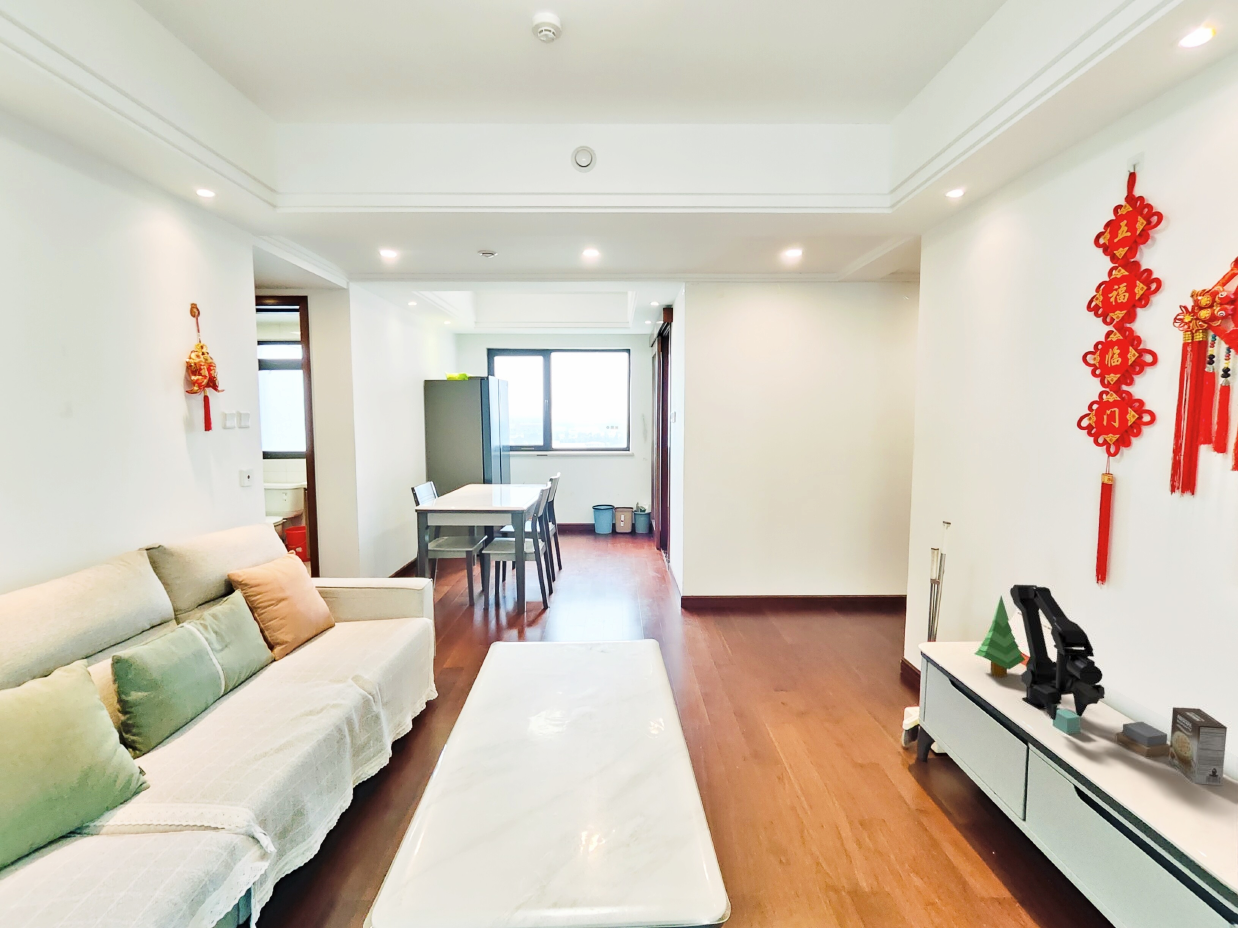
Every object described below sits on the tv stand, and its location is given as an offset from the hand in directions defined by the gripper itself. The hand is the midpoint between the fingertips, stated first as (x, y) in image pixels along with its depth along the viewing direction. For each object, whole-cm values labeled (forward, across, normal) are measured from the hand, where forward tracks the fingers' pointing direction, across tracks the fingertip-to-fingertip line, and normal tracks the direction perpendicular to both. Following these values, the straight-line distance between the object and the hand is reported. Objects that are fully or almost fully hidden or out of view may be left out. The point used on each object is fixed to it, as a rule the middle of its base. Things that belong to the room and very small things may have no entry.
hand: (1066, 717), depth 167 cm
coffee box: (+4, +13, -24) cm, 28 cm away
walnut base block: (+4, +12, -12) cm, 18 cm away
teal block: (+4, 0, 0) cm, 4 cm away
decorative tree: (+4, +9, +34) cm, 35 cm away
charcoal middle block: (+1, +12, -12) cm, 17 cm away
